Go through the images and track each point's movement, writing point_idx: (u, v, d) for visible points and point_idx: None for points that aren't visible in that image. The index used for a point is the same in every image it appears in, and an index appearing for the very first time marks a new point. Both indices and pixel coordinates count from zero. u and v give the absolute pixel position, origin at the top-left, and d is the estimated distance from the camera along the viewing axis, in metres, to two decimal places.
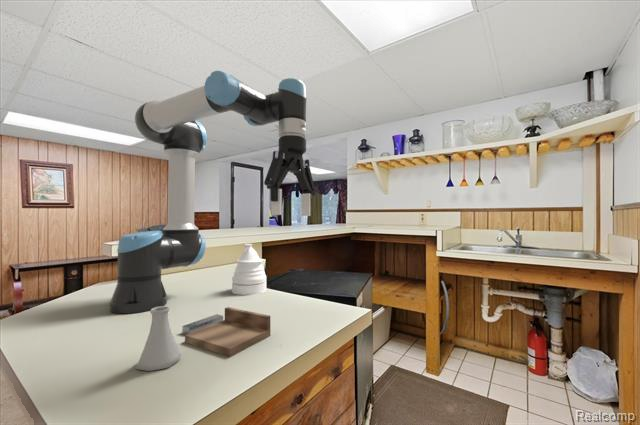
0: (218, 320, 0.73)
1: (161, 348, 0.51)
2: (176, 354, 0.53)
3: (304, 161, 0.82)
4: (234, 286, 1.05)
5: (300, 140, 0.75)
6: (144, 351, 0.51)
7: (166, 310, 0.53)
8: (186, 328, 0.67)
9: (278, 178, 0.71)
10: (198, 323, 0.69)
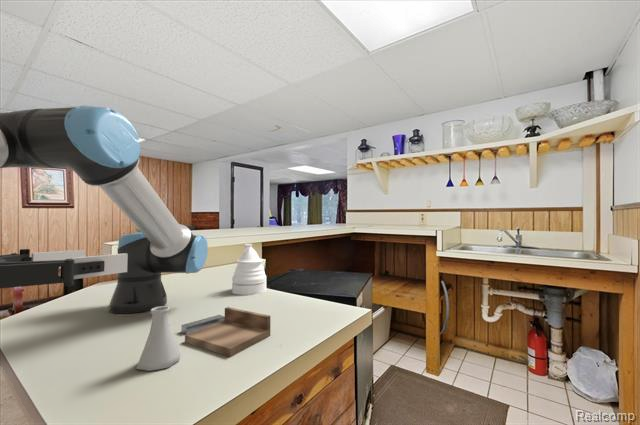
0: (219, 321, 0.73)
1: (161, 348, 0.51)
2: (176, 354, 0.53)
3: None
4: (234, 286, 1.05)
5: None
6: (144, 351, 0.51)
7: (166, 310, 0.53)
8: (184, 327, 0.67)
9: None
10: (197, 323, 0.69)
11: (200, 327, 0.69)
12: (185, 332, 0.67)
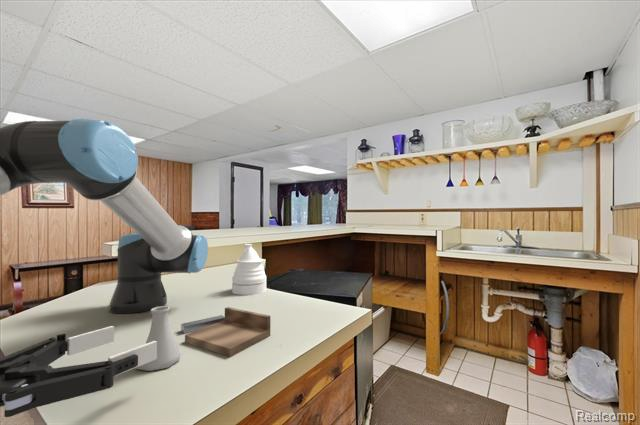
0: (219, 321, 0.72)
1: (161, 348, 0.51)
2: (176, 354, 0.53)
3: None
4: (234, 286, 1.05)
5: None
6: None
7: (166, 310, 0.53)
8: (182, 326, 0.68)
9: None
10: (196, 323, 0.69)
11: (199, 327, 0.69)
12: (183, 331, 0.67)
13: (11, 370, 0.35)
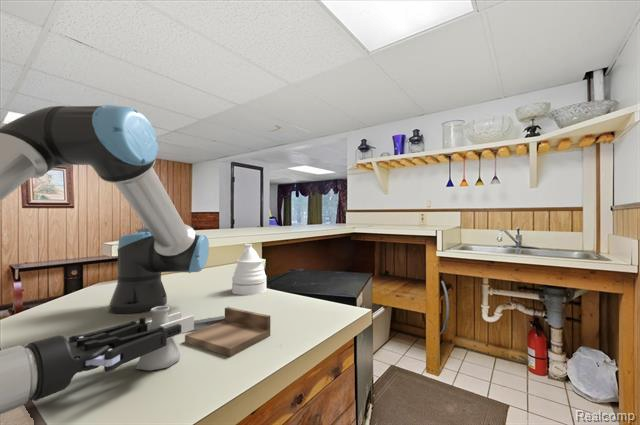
0: None
1: (160, 348, 0.51)
2: (176, 354, 0.53)
3: None
4: (234, 286, 1.05)
5: None
6: None
7: (166, 310, 0.53)
8: None
9: None
10: (195, 322, 0.70)
11: (197, 327, 0.69)
12: None
13: (89, 342, 0.43)
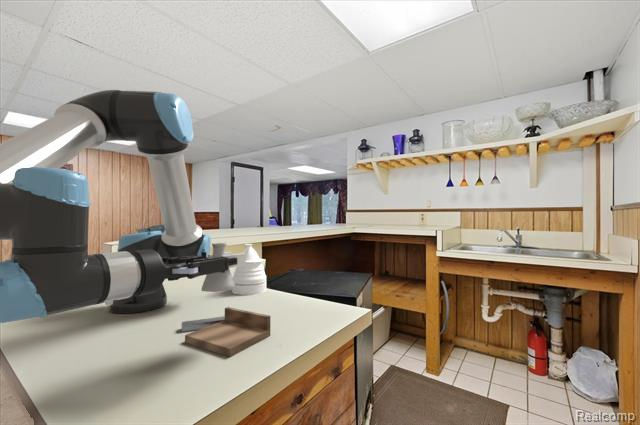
0: None
1: (221, 275, 0.60)
2: (233, 282, 0.62)
3: None
4: None
5: None
6: (207, 277, 0.60)
7: (224, 244, 0.62)
8: None
9: None
10: (195, 322, 0.70)
11: (197, 327, 0.69)
12: None
13: (172, 258, 0.52)
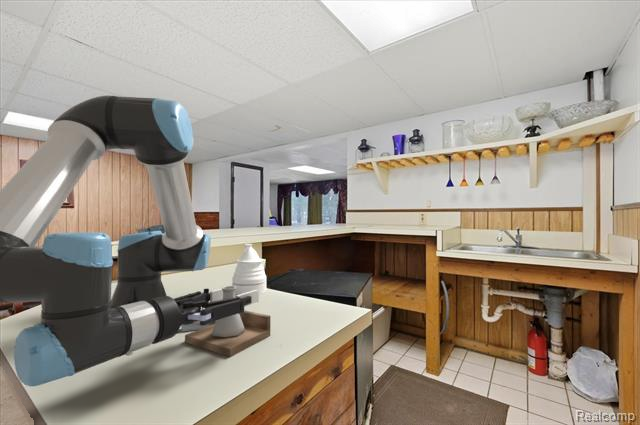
0: None
1: (231, 319, 0.62)
2: (242, 325, 0.64)
3: None
4: None
5: None
6: (218, 321, 0.62)
7: (234, 288, 0.64)
8: (181, 325, 0.69)
9: None
10: (195, 322, 0.70)
11: (197, 327, 0.69)
12: None
13: (186, 302, 0.54)
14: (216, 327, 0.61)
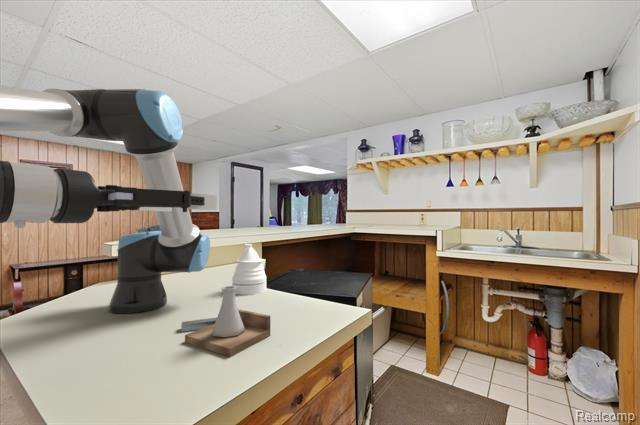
0: None
1: (231, 319, 0.62)
2: (242, 325, 0.64)
3: None
4: None
5: None
6: (218, 321, 0.62)
7: (234, 288, 0.64)
8: (181, 325, 0.69)
9: None
10: (195, 322, 0.70)
11: (197, 327, 0.69)
12: (181, 329, 0.68)
13: (110, 185, 0.43)
14: (216, 327, 0.61)
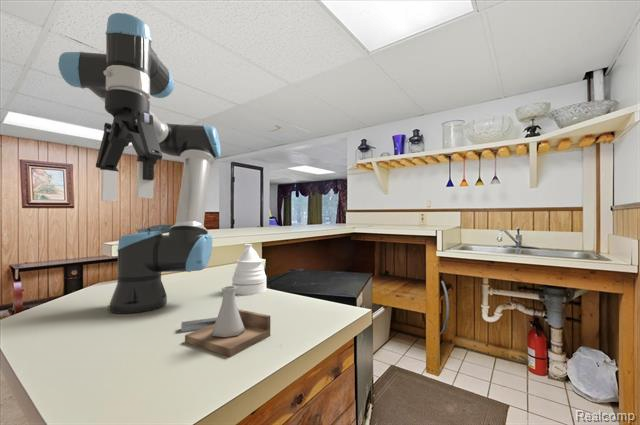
0: None
1: (231, 319, 0.62)
2: (242, 325, 0.64)
3: None
4: None
5: (105, 98, 0.55)
6: (218, 321, 0.62)
7: (234, 288, 0.64)
8: None
9: None
10: (195, 322, 0.70)
11: (196, 327, 0.69)
12: (181, 329, 0.68)
13: None
14: (216, 327, 0.61)
